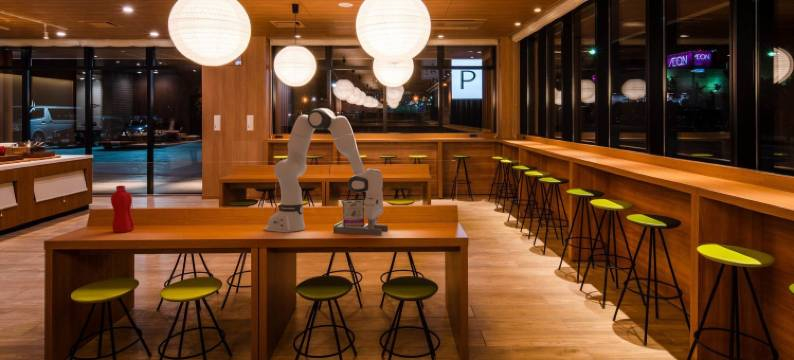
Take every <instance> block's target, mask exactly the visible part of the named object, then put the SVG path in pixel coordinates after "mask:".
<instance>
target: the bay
mask: <svg viewBox="0 0 794 360" xmlns="http://www.w3.org/2000/svg"><path fill="white" fill-rule="evenodd" d="M341 224H343V220H340V221H339V222H338V223H335V224H333V233H335V234H337V233H338V234H350V233H355V235H367V236H368V235H372V236H383V234H382V233H383V231H384V232H388V231H389V226H388V225H387V224H376V225H374V229H367V228H349V227H338V226H339V225H341Z"/></svg>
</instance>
